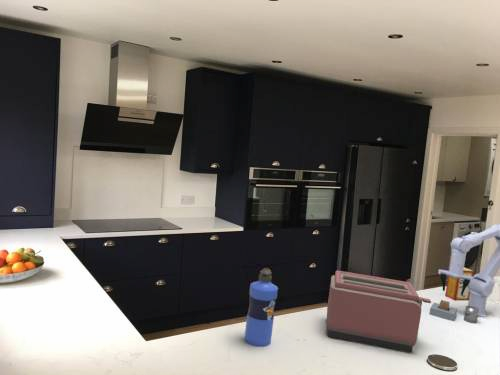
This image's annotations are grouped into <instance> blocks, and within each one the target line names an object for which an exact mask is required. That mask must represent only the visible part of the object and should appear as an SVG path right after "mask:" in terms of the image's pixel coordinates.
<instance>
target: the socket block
mask: <svg viewBox="0 0 500 375" xmlns="http://www.w3.org/2000/svg"><path fill="white" fill-rule="evenodd" d="M439 307H440V303H437V302H433V303H432V305H431V306H430V308H429V315H430V316H433V317H437V318H441V319H444V320H448V321H452V322H454V321H455V319H456V316H457V313H458V308H456V307H452V306H449V309H448V311H447V310H443V309H439Z"/></svg>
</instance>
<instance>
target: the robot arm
mask: <svg viewBox="0 0 500 375" xmlns="http://www.w3.org/2000/svg"><path fill="white" fill-rule="evenodd" d="M490 238H491V239H492V238H494V239H495V241H496V243H497V244H498V245H497V247H496V249H494V252H493V253H492V255H491V256H490V258H489V259H488V261H487V262H486V264H485V265H484V267H483V268H482V270H481V271H480V272H478V273H476V274H473V277H471V276H468V275H464V274H463V270H464V267H465V263H466V256H467V253H468V252H470V250H471V249H472V248H474V247H476V246H479V245H481V244H482V243H483V241H484V240H487V239H490ZM450 248H451V259H450V264H449V269H450V270H449V269H448V270H446V269H439V268H438V273H437V274H438V275H439V277H440V278H439V279H440V282H441V286H442V292H446V286H447V280H448V276H450V277H455V278H459V279H463V280H464V281H463V287H462V292H461V296H463V293H464V290H465V289H466V287H468V289H469V292H470V296H469V300H468V302H467V306H473V307H476V308H478V309H479V312H478V317H481V318H485V316H486V312H487V311H486V306H487V299H488V298H489V297H490V296H491V295H492V294H493V289H494V288H495V287H496V286H495V285H496V284H495V282H494V280H493V279H494V277H495V276H496V275H497V273H498V271H499V270H500V223H495V224H492V225H491V227H490V228H487V229H484V230H483V231H481V232H475V231H472V232H470V233H469V234H467V235H463V236H462V237H454V238H453V239H452V240H451V242H450Z"/></svg>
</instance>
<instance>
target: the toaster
mask: <svg viewBox="0 0 500 375" xmlns="http://www.w3.org/2000/svg"><path fill="white" fill-rule="evenodd" d="M328 292H329V293H328V294H329V295H328V301H327V307H326V308H327V309H326V324H327V337H328V338H331V339H337V340H342V341H347V342H354V343H358V344H363V345H369V346H372V347H378V348H384V349H387V350H388V349H389V350H393V351H399V352H404V353H409V354H410V353H412V352H413V347H414V346H415V345H416V343H417V341H418V335H419V329H420V323H421V315H422V305H423V303H427V304H431V303H432V300H431V299H430V298H426V297H421V296H419V294H418V292H417V291H416V289H415V287H414V286H413V284H412V282H409V281H404V280H403V281H402V280H396V279H392V278H385V277H379V276H373V275H367V274H360V273H356V272H355V273H354V272H349V271H342V270H335V274H334V275H331V278H330V284H329V291H328Z"/></svg>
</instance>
